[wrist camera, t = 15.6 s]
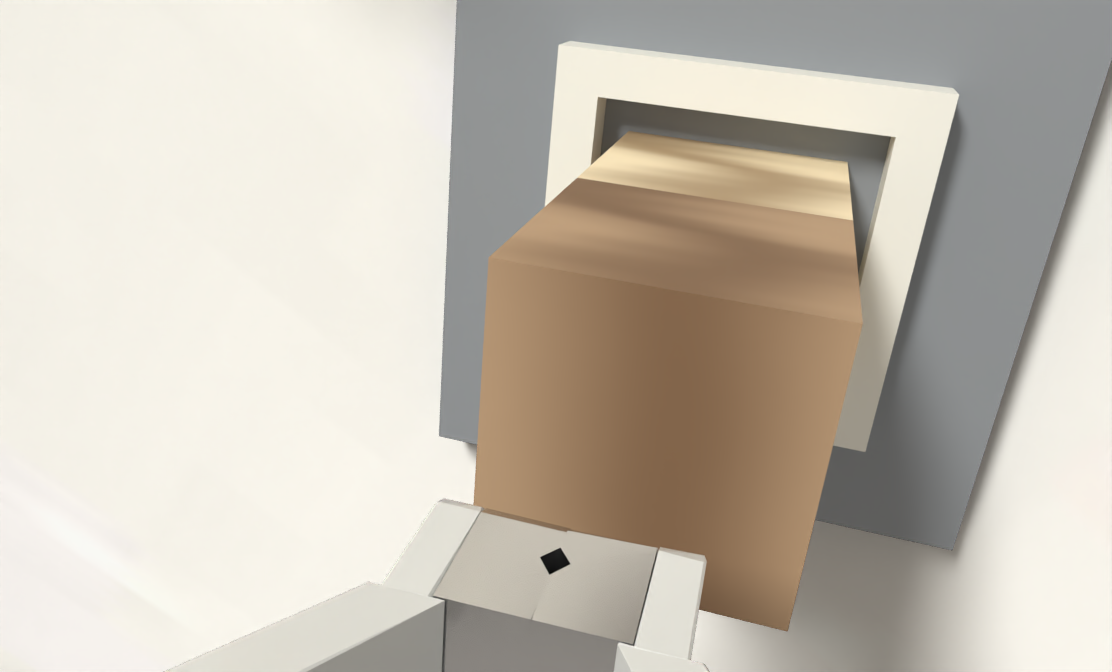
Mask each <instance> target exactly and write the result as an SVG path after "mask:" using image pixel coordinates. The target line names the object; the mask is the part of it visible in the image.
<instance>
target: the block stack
mask: <svg viewBox="0 0 1112 672" xmlns="http://www.w3.org/2000/svg"><path fill="white" fill-rule="evenodd" d="M862 325H863V320H862V309H861V299H860V288H859V278H858V267H857V256H856V246H855V235H854V225H853V214H852V203H851V193H850V182H849V172H848V162H844V161H837V160H830V159H823V158H816V157H809V156H802V155H795V154H788V153H781V152H774V151H767V150H759V149H752V148H745V147H738V146H731V145H724V144H717V143H710V142H703V141H696V140H689V139H682V138H675V137H668V136H661V135H654V134H647V133H640V132H633V131H628V132H627V133H626V134H625V135H624V136H623V137H622V138H621V139H619V140H618V141H617V142H616V143H615V144H614V145H613V146H612V147H611V148H609V149H608V150H607V151H606V152H605V153H604V154H603V155H602V156H601V157H600V158H598V159H597V160H596V161H595V162H594V163H593V164H592V165H591V166H590V167H588V168H587V169H586V170H585V171H584V172H583V173H582V174H581V175H580V176H578V177H577V178H576V179H575V180H574V181H573V182H572V183H571V184H570V185H568V186H567V187H566V188H565V189H564V190H563V191H562V192H561V193H560V194H558V195H557V196H556V197H555V198H554V199H553V200H552V201H551V202H550V203H548V204H547V205H546V206H545V207H544V208H543V209H542V210H541V211H540V212H538V213H537V214H536V215H535V216H534V217H533V218H532V219H531V220H530V221H529V222H527V223H526V224H525V225H524V226H523V227H522V228H521V229H520V230H519V231H517V232H516V233H515V234H514V235H513V236H512V237H511V238H510V239H509V240H507V241H506V242H505V243H504V244H503V245H502V246H501V247H500V248H499V249H497V250H496V251H495V252H494V253H493V254H492V255H491V256H490V257H489V260H488V276H487V293H486V309H485V326H484V342H483V359H482V375H481V392H480V408H479V424H478V441H477V457H476V474H475V490H474V505H475V506H480V507H483V508H484V509H486V508H489V509H493V510H497V511H501V512H505V513H509V514H513V515H517V516H521V517H525V518H530V519H534V520H538V521H542V522H546V523H550V524H554V525H558V526H562V527H566V528H570V529H571V530H576V531H580V532H585V533H590V534H594V535H599V536H604V537H608V538H613V539H618V540H622V541H627V542H632V543H636V544H641V545H646V546H650V547H655V548H658V549H660V547H662V548H668V549H673V550H678V551H683V552H689V553H694V554H699V555H704V556H705V558H706V561H707V563H706V569H705V575H704V581H703V588H702V594H701V600H700V606H699V610H703V611H707V612H711V613H715V614H719V615H723V616H727V617H731V618H735V619H739V620H743V621H747V622H751V623H755V624H759V625H763V626H767V627H771V628H775V629H779V630H783V631H788V627H789V623H790V619H791V615H792V611H793V607H794V603H795V599H796V595H797V591H798V587H799V582H800V578H801V574H802V570H803V566H804V562H805V558H806V554H807V550H808V546H809V542H810V538H811V533H812V529H813V525H814V521H815V517H816V513H817V509H818V505H819V501H820V497H821V493H822V489H823V484H824V480H825V476H826V472H827V468H828V464H829V460H830V456H831V452H832V448H833V444H834V440H835V435H836V431H837V427H838V423H839V419H840V415H841V411H842V407H843V403H844V399H845V395H846V391H847V386H848V382H849V378H850V374H851V370H852V366H853V362H854V358H855V354H856V350H857V346H858V342H859V337H860V333H861V329H862Z"/></svg>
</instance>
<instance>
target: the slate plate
mask: <svg viewBox="0 0 1112 672" xmlns="http://www.w3.org/2000/svg"><path fill="white" fill-rule="evenodd" d="M1111 60H1112V0H457V12H456V36H455V60H454V85H453V109H452V133H451V158H450V182H449V206H448V231H447V255H446V279H445V304H444V328H443V353H442V377H441V401H440V426H439V436H441V437H445V438H450V439H454V440H459V441H463V442H468V443H472V444H477V441H478V424H479V408H480V392H481V375H482V359H483V342H484V326H485V309H486V293H487V276H488V260H489V257H490V256H491V255H492V254H493V253H494V252H495V251H496V250H497V249H499V248H500V247H501V246H502V245H503V244H504V243H505V242H506V241H507V240H509V239H510V238H511V237H512V236H513V235H514V234H515V233H516V232H517V231H519V230H520V229H521V228H522V227H523V226H524V225H525V224H526V223H527V222H529V221H530V220H531V219H532V218H533V217H534V216H535V215H536V214H537V213H538V212H540V211H541V210H542V209H543V208H544V207H545V206H546V205H547V204H548V203H550V202H551V201H552V200H553V199H554V198H555V197H556V196H557V195H558V194H560V193H561V192H562V191H563V190H564V189H565V188H566V187H567V186H568V185H570V184H571V183H572V182H573V181H574V180H575V179H576V178H577V177H578V176H580V175H581V174H582V173H583V172H584V171H585V170H586V169H587V168H588V167H590V166H591V165H592V164H593V163H594V162H595V161H596V160H597V159H598V158H600V157H601V156H602V155H603V154H604V153H605V152H606V151H607V150H608V149H609V148H611V147H612V146H613V145H614V144H615V143H616V142H617V141H618V140H619V139H621V138H622V137H623V136H624V135H625V134H626V133H627V132H628V131H633V132H640V133H647V134H654V135H661V136H668V137H675V138H682V139H689V140H696V141H703V142H710V143H717V144H724V145H731V146H738V147H745V148H752V149H759V150H767V151H774V152H781V153H788V154H795V155H802V156H809V157H816V158H823V159H830V160H837V161H844V162H848V172H849V182H850V193H851V203H852V214H853V225H854V235H855V246H856V256H857V267H858V278H859V288H860V299H861V309H862V320H863V325H862V329H861V333H860V337H859V342H858V346H857V350H856V354H855V358H854V362H853V366H852V370H851V374H850V378H849V382H848V386H847V391H846V395H845V399H844V403H843V407H842V411H841V415H840V419H839V423H838V427H837V431H836V435H835V440H834V444H833V448H832V452H831V456H830V460H829V464H828V468H827V472H826V476H825V480H824V484H823V489H822V493H821V497H820V501H819V505H818V509H817V513H816V517H815V520H818V521H822V522H827V523H831V524H836V525H840V526H845V527H849V528H854V529H858V530H863V531H867V532H872V533H876V534H881V535H885V536H890V537H894V538H898V539H903V540H907V541H912V542H916V543H921V544H925V545H930V546H934V547H939V548H943V549H948V550H953V547H954V544H955V541H956V538H957V535H958V532H959V529H960V526H961V523H962V519H963V516H964V513H965V510H966V507H967V504H968V501H969V498H970V495H971V492H972V489H973V486H974V483H975V479H976V476H977V473H978V470H979V467H980V464H981V461H982V458H983V455H984V452H985V449H986V446H987V442H988V439H989V436H990V433H991V430H992V427H993V424H994V421H995V418H996V415H997V412H998V409H999V406H1000V402H1001V399H1002V396H1003V393H1004V390H1005V387H1006V384H1007V381H1008V378H1009V375H1010V372H1011V369H1012V365H1013V362H1014V359H1015V356H1016V353H1017V350H1018V347H1019V344H1020V341H1021V338H1022V335H1023V332H1024V328H1025V325H1026V322H1027V319H1028V316H1029V313H1030V310H1031V307H1032V304H1033V301H1034V298H1035V295H1036V292H1037V288H1038V285H1039V282H1040V279H1041V276H1042V273H1043V270H1044V267H1045V264H1046V261H1047V258H1048V255H1049V251H1050V248H1051V245H1052V242H1053V239H1054V236H1055V233H1056V230H1057V227H1058V224H1059V221H1060V218H1061V214H1062V211H1063V208H1064V205H1065V202H1066V199H1067V196H1068V193H1069V190H1070V187H1071V184H1072V181H1073V178H1074V174H1075V171H1076V168H1077V165H1078V162H1079V159H1080V156H1081V153H1082V150H1083V147H1084V144H1085V141H1086V137H1087V134H1088V131H1089V128H1090V125H1091V122H1092V119H1093V116H1094V113H1095V110H1096V107H1097V104H1098V100H1099V97H1100V94H1101V91H1102V88H1103V85H1104V82H1105V79H1106V76H1107V73H1108V70H1109V67H1110V64H1111Z"/></svg>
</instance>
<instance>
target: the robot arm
mask: <svg viewBox="0 0 1112 672" xmlns="http://www.w3.org/2000/svg"><path fill="white" fill-rule="evenodd" d="M706 563H707V561H706V558H705V556H704V555H699V554H694V553H689V552H683V551H678V550H673V549H668V548H662V547H660V549H658V548H655V547H650V546H646V545H641V544H636V543H632V542H627V541H622V540H618V539H613V538H608V537H604V536H599V535H594V534H590V533H585V532H580V531H576V530H571V529H570V528H566V527H562V526H558V525H554V524H550V523H546V522H542V521H538V520H534V519H530V518H525V517H521V516H517V515H513V514H509V513H505V512H501V511H497V510H493V509H489V508H486V509H484V508H483V507H480V506H475V505H471V504H466V503H462V502H458V501H453V500H449V499H442V500H440V501H439V502H437V503H436V504H435V505H434V506H433V508H432V509H431V511H430V512H429V514H428V515H427V517H426V518H425V520H424V521H423V523H422V524H421V526H420V527H419V529H418V530H417V532H416V533H415V535H414V536H413V538H412V539H411V541H410V542H409V544H408V545H407V546H406V548H405V549H404V551H403V552H402V554H401V555H400V557H399V558H398V560H397V561H396V563H395V564H394V566H393V567H392V569H391V570H390V572H389V573H388V575H387V576H386V578H385V579H384V581H383V582H382V584H381V585H380V584H375V583H371V582H367V583H365V584H363V585H360V586H358V587H356V588H353V589H351V590H349V591H347V592H344V593H342V594H340V595H337V596H335V597H333V598H331V599H328V600H326V601H324V602H321V603H319V604H317V605H315V606H312V607H310V608H308V609H305V610H303V611H301V612H299V613H296V614H294V615H292V616H289V617H287V618H285V619H283V620H280V621H278V622H276V623H273V624H271V625H269V626H267V627H264V628H262V629H260V630H257V631H255V632H253V633H251V634H248V635H246V636H244V637H241V638H239V639H237V640H235V641H232V642H230V643H228V644H225V645H223V646H221V647H219V648H216V649H214V650H212V651H209V652H207V653H205V654H203V655H200V656H198V657H196V658H194V659H191V660H189V661H187V662H184V663H182V664H180V665H178V666H175V667H173V668H171V669H168V670H166V671H164V672H709V670H708V668H707V667H706V665H705V664H703V663H699V662H695V661H692V660H691V655H692V649H693V643H694V637H695V631H696V624H697V618H698V612H699V606H700V600H701V594H702V588H703V581H704V575H705V569H706Z"/></svg>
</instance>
